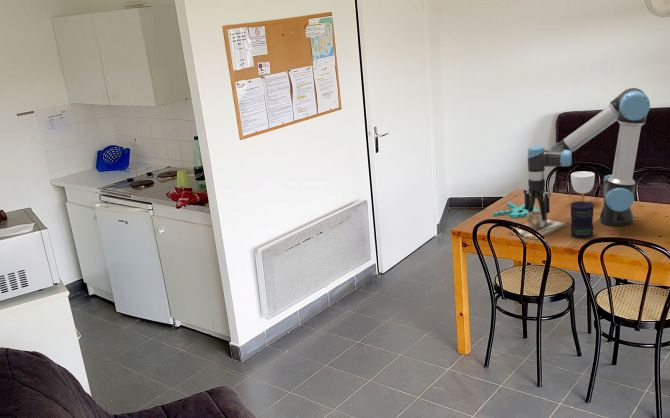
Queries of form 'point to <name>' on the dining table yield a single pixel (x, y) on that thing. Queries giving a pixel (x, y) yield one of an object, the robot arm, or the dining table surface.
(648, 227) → the dining table surface
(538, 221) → the block
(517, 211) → the alien figure
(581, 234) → the storage jar
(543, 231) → the board
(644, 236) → the dining table surface
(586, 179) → the cup
